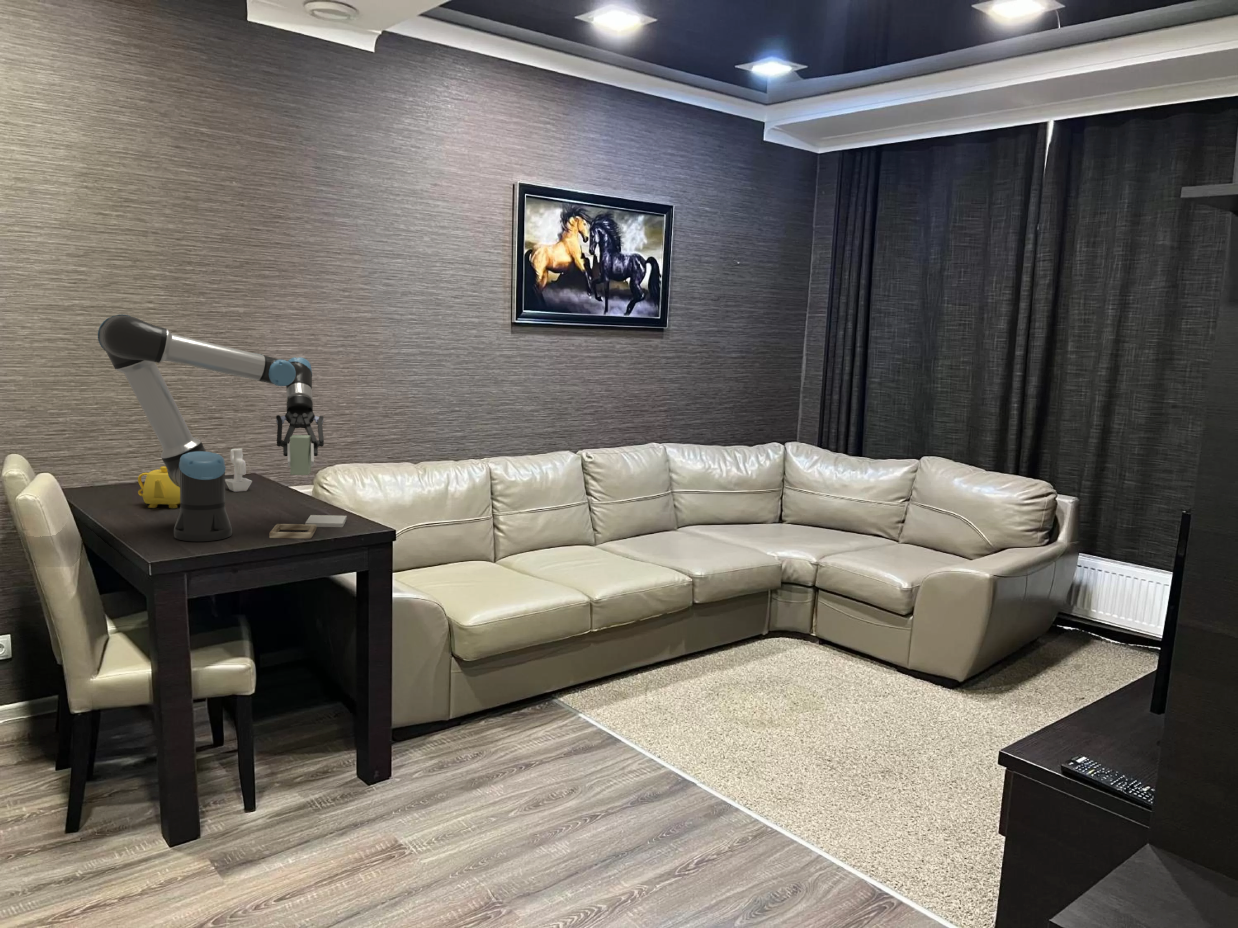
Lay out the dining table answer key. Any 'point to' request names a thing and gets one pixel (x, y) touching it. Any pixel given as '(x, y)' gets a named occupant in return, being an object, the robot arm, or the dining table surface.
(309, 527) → the board
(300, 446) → the sage block
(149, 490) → the teapot
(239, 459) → the figurine
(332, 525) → the grey mat
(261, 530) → the dining table surface
